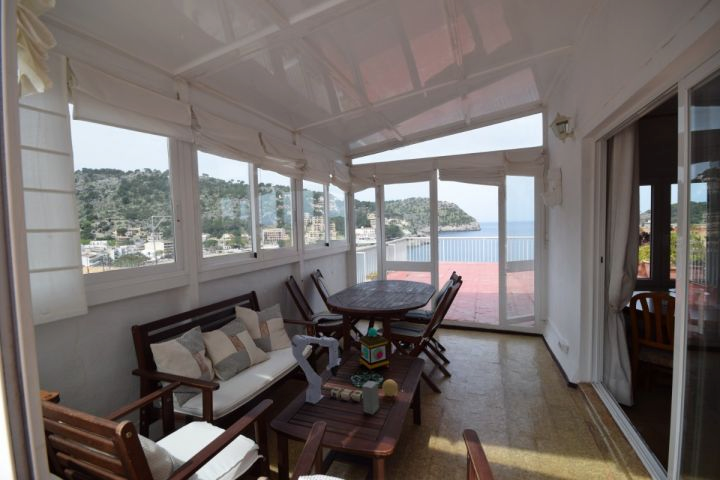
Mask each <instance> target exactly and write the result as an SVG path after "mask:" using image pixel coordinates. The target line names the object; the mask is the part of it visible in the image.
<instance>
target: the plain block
mask: <svg viewBox="0 0 720 480" xmlns="http://www.w3.org/2000/svg"><path fill="white" fill-rule="evenodd" d="M352 394H353V391H352V390H351V389H343V390H342V393H341V397H340V398H341V400H344V401H349V400H351V399H352Z"/></svg>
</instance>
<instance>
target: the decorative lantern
mask: <svg viewBox="0 0 720 480" xmlns="http://www.w3.org/2000/svg"><path fill="white" fill-rule="evenodd" d="M358 341H359V346H360V347H359V348H360V358H359V359H358V360H359V361H358V364H359V365H361V366H362V365H363V366H364V367H365V368H367V369H368V372H369V373H370V372H371V373H372V370H373V369H377V368H381V367H383V366H384V367H385V366H386V367H387V368H390V362H389V360H388V346H387V345H388V342H389V341H388V339H386V338H385V337H383V336H381V334H379V333H378V330H377V329H376V328H375V327H371V328H369V329H368V332H367V333H366V334H365V335H362V336H360V337H359V338H358Z"/></svg>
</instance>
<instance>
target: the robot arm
mask: <svg viewBox="0 0 720 480" xmlns="http://www.w3.org/2000/svg"><path fill="white" fill-rule="evenodd" d="M310 344H318V345H319V346H320V347H328V353H329V354H328V356H329V363H328V365H327V366H326V370H327V371H331V374H332V377H337V375H338V370H339V368H340V364H341V362H342V358H339V346H340V342H339V340H338V339H336V338H334V337H327V336H326V335H323V336H320V337H316V336H315V337H314V336H310V335H304V334H295V335H294V336H292V338H291V342H290V345H291V350H292V351H291V352H292V356H293V357H294V359H295V360H296V362H297V364H298V365H299V366H300V368H301V369H302V370H303V372H304V373H305V376H306V381H307V382H308V388H307V389H306V391H305V395H306V396H305V402H307V403H311V404H314V405H316V404H317V403H318V402H319V401H320V400H322V399H323V398H324V397H325V395H322V391H321V389H322V388H321V386H322V383H323V378H322V377H321V376H319V375H318V373H316V372H315V371H314V369H313V367H312V366H311V365H310V363H309V361H308V360H307V359H306V357H305V356H304V354H303V353H304V352H305V350H306V348H307V346H309V345H310Z"/></svg>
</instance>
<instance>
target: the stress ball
mask: <svg viewBox="0 0 720 480" xmlns="http://www.w3.org/2000/svg"><path fill="white" fill-rule="evenodd" d="M381 388H382V392H383V394H385V396H388V397H394V396H395V395H396V394H397V393H398V390H399V385H398V383H397V382H396V380H393V379H391V378H389V379H386V380H384V381H383V383H382V387H381Z"/></svg>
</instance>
